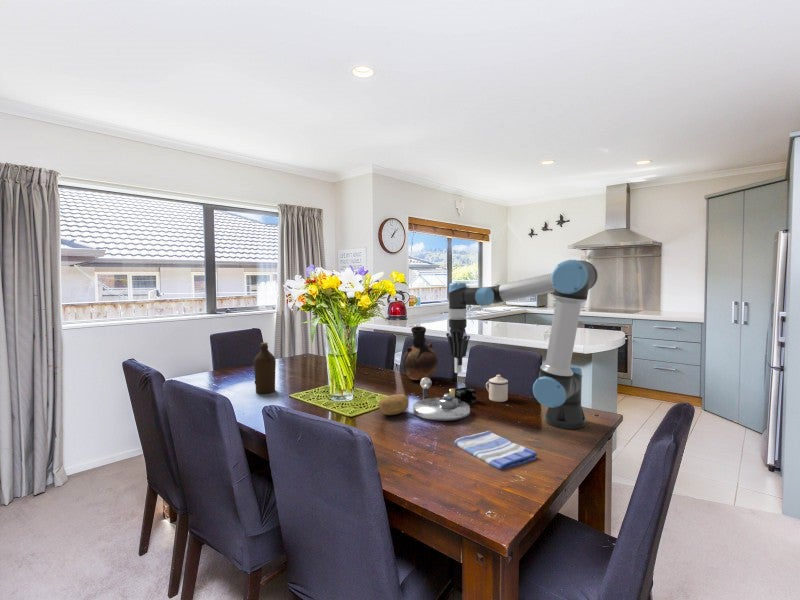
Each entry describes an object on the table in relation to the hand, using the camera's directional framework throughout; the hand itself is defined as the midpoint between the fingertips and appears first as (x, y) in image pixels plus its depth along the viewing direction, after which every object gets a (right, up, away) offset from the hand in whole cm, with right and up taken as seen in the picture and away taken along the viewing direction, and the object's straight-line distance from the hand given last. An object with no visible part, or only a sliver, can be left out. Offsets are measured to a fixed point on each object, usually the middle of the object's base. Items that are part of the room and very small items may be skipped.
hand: (458, 372), depth 184 cm
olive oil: (-94, -16, +32) cm, 101 cm away
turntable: (-8, -16, -4) cm, 18 cm away
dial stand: (-14, -16, +10) cm, 23 cm away
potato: (-28, -17, -4) cm, 33 cm away
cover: (-5, -14, -5) cm, 15 cm away
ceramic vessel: (-14, -14, +54) cm, 57 cm away
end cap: (+4, -16, +12) cm, 21 cm away
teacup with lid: (+20, -16, +17) cm, 31 cm away
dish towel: (+6, -20, -42) cm, 47 cm away
